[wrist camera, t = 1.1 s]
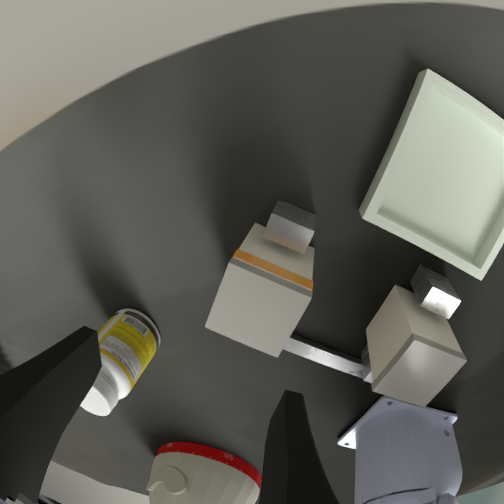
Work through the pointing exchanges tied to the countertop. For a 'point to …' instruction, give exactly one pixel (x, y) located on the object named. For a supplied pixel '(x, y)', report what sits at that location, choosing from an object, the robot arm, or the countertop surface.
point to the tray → (443, 177)
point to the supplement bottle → (121, 358)
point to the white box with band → (263, 293)
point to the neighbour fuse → (411, 349)
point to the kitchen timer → (201, 476)
